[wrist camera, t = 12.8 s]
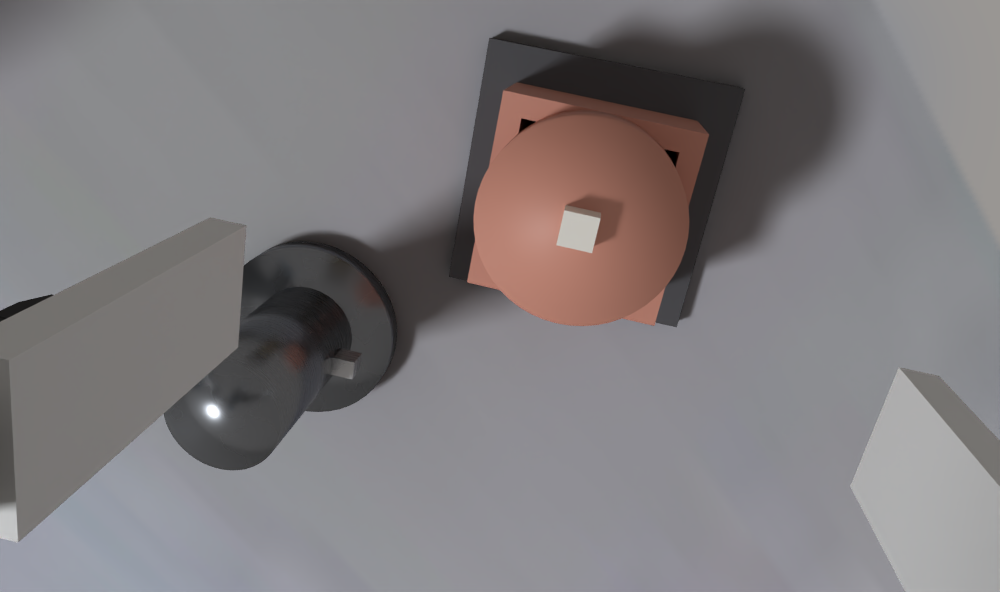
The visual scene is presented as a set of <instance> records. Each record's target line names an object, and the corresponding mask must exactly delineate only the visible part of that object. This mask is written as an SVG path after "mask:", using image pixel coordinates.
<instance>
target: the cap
mask: <svg viewBox="0 0 1000 592" xmlns="http://www.w3.org/2000/svg"><path fill="white" fill-rule="evenodd" d="M530 120H532V121H536V122H535V123H533V124H531V125H530V126H529V122H530ZM708 137H709V134H708V132H707V131H706V130H705V129H704V128H703V127H702V126H701V124H700V123H699V122H698V121H696V120H691V119H687V118H682V117H677V116H673V115H668V114H663V113H659V112H654V111H649V110H645V109H640V108H635V107H631V106H626V105H621V104H616V103H612V102H607V101H602V100H598V99H593V98H588V97H584V96H579V95H574V94H570V93H565V92H560V91H556V90H551V89H546V88H542V87H537V86H532V85H527V84H523V83H518V82H517V83H515V84H513V85H512V86H510V87H508V88H506V89H505V90H503V95H502V100H501V106H500V111H499V116H498V122H497V127H496V132H495V137H494V143H493V148H492V153H491V159H490V164H489V168H488V170H487V172H486V173H485V175H484V177H483V179H482V182H481V184H480V187H479V189H478V193H477V197H476V201H475V208H474V234H475V243H474V248H473V254H472V259H471V264H470V270H469V275H468V280H467V282H468V283H472V284H476V285H481V286H485V287H489V288H494V289H498V290H501V291H502V292H503V293H504V294H505V295H506V296H507V297H508V298H509V299H510V300H511V301H512V302H514V303H515V304H516V305H517V306H519V307H520V308H522V309H524V310H525V311H527V312H529V313H530V314H532V315H535V316H537V317H539V318H542V319H544V320H547V321H551V322H554V323H559V324H564V325H573V326H589V325H599V324H604V323H609V322H612V321H615V320H618V319H621V318H623V319H627V320H632V321H636V322H640V323H645V324H649V325H653V326H654V325H655V321H656V318H657V314H658V311H659V308H660V304H661V301H662V297H663V294H664V290H665V287H666V286H667V284H668V283H669V281H670V280H671V279H672V277H673V276H674V274H675V272H676V270H677V269H678V267H679V265H680V263H681V260H682V257H683V255H684V252H685V249H686V244H687V240H688V234H689V208H688V207H689V203H690V200H691V196H692V193H693V189H694V186H695V182H696V179H697V175H698V172H699V168H700V165H701V161H702V158H703V154H704V151H705V147H706V144H707V140H708ZM664 149H666V150H668V152H667V153H666V151H665V150H664Z"/></svg>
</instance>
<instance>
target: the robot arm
mask: <svg viewBox="0 0 1000 592" xmlns="http://www.w3.org/2000/svg"><path fill="white" fill-rule="evenodd" d="M245 237H246V225H242V224H238V223H233V222H228V221H224V220H219V219H215V218H208V219H206V220H204V221H202V222H200V223H198V224H196V225H194V226H192V227H190V228H188V229H186V230H184V231H182V232H180V233H178V234H176V235H174V236H172V237H170V238H168V239H166V240H164V241H162V242H160V243H158V244H156V245H154V246H152V247H150V248H148V249H146V250H144V251H142V252H140V253H138V254H136V255H134V256H132V257H130V258H128V259H126V260H124V261H122V262H120V263H118V264H116V265H114V266H112V267H110V268H108V269H106V270H104V271H101V272H99V273H97V274H95V275H93V276H91V277H89V278H87V279H85V280H83V281H81V282H79V283H77V284H75V285H73V286H71V287H69V288H67V289H65V290H63V291H61V292H59V293H57V294H55V295H48V296H43V297H39V298H35V299H31V300H26V301H22V302H18V303H16V304H14V305H12V306H9V307H7V308H5V309H3V310H1V311H0V538H2V539H6V540H10V541H14V542H19V541H20V540H21V539H23V538H24V537H25V536H26V535H27V534H28V533H29V532H31V531H32V530H33V529H34V528H35V527H36V526H37V525H38V524H40V523H41V522H42V521H43V520H44V519H45V518H46V517H47V516H49V515H50V514H51V513H52V512H53V511H54V510H55V509H56V508H58V507H59V506H60V505H61V504H62V503H63V502H64V501H65V500H67V499H68V498H69V497H70V496H71V495H72V494H73V493H74V492H76V491H77V490H78V489H79V488H80V487H81V486H82V485H84V484H85V483H86V482H87V481H88V480H89V479H90V478H91V477H93V476H94V475H95V474H96V473H97V472H98V471H99V470H100V469H102V468H103V467H104V466H105V465H106V464H107V463H108V462H109V461H111V460H112V459H113V458H114V457H115V456H116V455H117V454H118V453H120V452H121V451H122V450H123V449H124V448H125V447H126V446H128V445H129V444H130V443H131V442H132V441H133V440H134V439H135V438H137V437H138V436H139V435H140V434H141V433H142V432H143V431H144V430H146V429H147V428H148V427H149V426H150V425H151V424H152V423H153V422H155V421H156V420H157V419H158V418H159V417H160V416H161V415H162V414H164V413H165V412H166V411H167V410H168V409H169V408H170V407H171V406H173V405H174V404H175V403H176V402H177V401H178V400H179V399H180V398H182V397H183V396H184V395H185V394H186V393H187V392H188V391H190V390H191V389H192V388H193V387H194V386H195V385H196V384H197V383H199V382H200V381H201V380H202V379H203V378H204V377H205V376H206V375H208V374H209V373H210V372H211V371H212V370H213V369H214V368H215V367H217V366H218V365H219V364H220V363H221V362H222V361H223V360H224V359H226V358H227V357H228V356H229V355H230V354H231V353H232V352H234V351H235V350H236V349H237V348H238V341H239V326H240V311H241V296H242V282H243V267H244V252H245ZM850 487H851V489H852V491H853V493H854V495H855V497H856V499H857V500H858V502H859V504H860V506H861V508H862V510H863V512H864V514H865V516H866V518H867V520H868V521H869V523H870V525H871V527H872V529H873V531H874V533H875V535H876V537H877V539H878V541H879V542H880V544H881V546H882V548H883V550H884V552H885V554H886V556H887V558H888V560H889V562H890V563H891V565H892V567H893V569H894V571H895V573H896V575H897V577H898V579H899V581H900V583H901V584H902V586H903V588H904V590H905V592H1000V441H999V439H998V438H997V437H996V436H995V435H994V434H993V433H992V432H991V431H990V430H989V429H988V428H987V427H986V426H985V425H984V423H983V422H982V421H981V420H980V419H979V418H978V417H977V416H976V415H975V414H974V413H973V412H972V411H971V410H970V409H969V407H968V406H967V405H966V404H965V403H964V402H963V401H962V400H961V399H960V398H959V397H958V396H957V395H956V394H955V393H954V391H953V390H952V389H951V388H950V387H949V386H948V385H947V384H946V383H945V382H944V381H943V380H942V379H941V378H940V377H939V376H936V375H932V374H927V373H923V372H918V371H913V370H909V369H904V368H900V367H899V368H898V371H897V373H896V376H895V378H894V381H893V383H892V386H891V388H890V390H889V393H888V395H887V398H886V400H885V403H884V405H883V408H882V410H881V413H880V415H879V417H878V420H877V422H876V425H875V427H874V430H873V432H872V435H871V437H870V439H869V442H868V444H867V447H866V449H865V452H864V454H863V457H862V459H861V461H860V464H859V466H858V469H857V471H856V474H855V476H854V479H853V481H852V484H851V486H850Z"/></svg>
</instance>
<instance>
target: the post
mask: <svg viewBox="0 0 1000 592" xmlns="http://www.w3.org/2000/svg"><path fill="white" fill-rule="evenodd" d="M396 338H397V328H396V319H395V314H394V310H393V307H392V304H391V301H390V299H389V297H388V295H387V293H386V291H385V290H384V288H383V287H382V285H381V283H380V282H379V281H378V279H377V278H376V277H375V276H374V275H373V273H372V272H371V271H370V270H369V269H368V268H366V267H365V266H364V265H363V264H362V263H361V262H359V261H358V260H357V259H355V258H354V257H352V256H351V255H349V254H347V253H345V252H344V251H341V250H339V249H337V248H334V247H332V246H328V245H325V244H321V243H314V242H291V243H286V244H282V245H278V246H276V247H273V248H271V249H268V250H267V251H265V252H263V253H262V254H260V255H258V256H257V257H255V258H254V259H252V260H251V261H249V262H248V263H247V264H246V265H244V267H243V282H242V296H241V311H240V326H239V341H238V348H237V349H236V350H235V351H234V352H232V353H231V354H230V355H229V356H228V357H227V358H226V359H224V360H223V361H222V362H221V363H220V364H219V365H218V366H217V367H215V368H214V369H213V370H212V371H211V372H210V373H209V374H208V375H206V376H205V377H204V378H203V379H202V380H201V381H200V382H199V383H197V384H196V385H195V386H194V387H193V388H192V389H191V390H190V391H188V392H187V393H186V394H185V395H184V396H183V397H182V398H180V399H179V400H178V401H177V402H176V403H175V404H174V405H173V406H171V407H170V408H169V409H168V410H167V411H166V412H165V413H164V417H165V420H166V424H167V426H168V428H169V430H170V432H171V434H172V436H173V437H174V439H175V440H176V441H177V443H178V444H179V445H180V446H181V447H182V448H183V449H184V450H185V451H186V452H187V453H188V454H190V455H191V456H192V457H194V458H195V459H197V460H199V461H200V462H202V463H204V464H207V465H209V466H212V467H215V468H219V469H224V470H242V469H247V468H250V467H253V466H255V465H257V464H259V463H261V462H262V461H264V460H265V459H266V458H267V457H268V456H269V455H270V454H271V453H272V451H273V450H274V449H275V448H276V446H277V445H278V444H279V443H280V441H281V440H282V439H283V438H284V436H285V435H286V434H287V433H288V431H289V430H290V429H291V428H292V426H293V425H294V424H295V423H296V421H297V420H298V419H299V418H300V416H301V415H302V414H303V413H304V411H313V412H323V411H332V410H337V409H341V408H344V407H347V406H349V405H351V404H353V403H355V402H357V401H359V400H360V399H362V398H363V397H365V396H366V395H367V394H368V393H369V392H370V391H371V390H372V389H373V388H374V387H375V386H376V384H377V383H378V382H379V381H380V379H381V378H382V376H383V375H384V373H385V371H386V370H387V368H388V366H389V364H390V362H391V360H392V357H393V355H394V351H395V346H396Z"/></svg>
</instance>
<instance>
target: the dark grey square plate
mask: <svg viewBox="0 0 1000 592" xmlns="http://www.w3.org/2000/svg"><path fill="white" fill-rule="evenodd" d="M517 82H518V83H523V84H527V85H532V86H537V87H542V88H546V89H551V90H556V91H560V92H565V93H570V94H574V95H579V96H584V97H588V98H593V99H598V100H602V101H607V102H612V103H616V104H621V105H626V106H631V107H635V108H640V109H645V110H649V111H654V112H659V113H663V114H668V115H673V116H677V117H682V118H687V119H691V120H696V121H698V122H699V123H700V124H701V126H702V127H703V128H704V129H705V130H706V131H707V132H708V134H709V137H708V140H707V144H706V147H705V151H704V154H703V158H702V161H701V165H700V168H699V172H698V175H697V179H696V182H695V186H694V189H693V193H692V196H691V200H690V203H689V207H688V208H689V234H688V240H687V244H686V249H685V252H684V255H683V257H682V260H681V263H680V265H679V267H678V269H677V270H676V272H675V274H674V276H673V277H672V279H671V280H670V281H669V283H668V284H667V286H666V287H665V290H664V294H663V297H662V301H661V304H660V308H659V311H658V314H657V318H656V321H655V322H656V323H660V324H665V325H669V326H674V327H677V324H678V321H679V317H680V314H681V310H682V307H683V303H684V300H685V296H686V293H687V289H688V286H689V282H690V279H691V275H692V272H693V268H694V265H695V262H696V258H697V255H698V251H699V248H700V244H701V241H702V237H703V234H704V230H705V227H706V223H707V220H708V216H709V213H710V209H711V206H712V202H713V199H714V195H715V192H716V188H717V185H718V182H719V178H720V175H721V171H722V168H723V164H724V161H725V157H726V154H727V150H728V147H729V143H730V140H731V136H732V133H733V129H734V126H735V122H736V119H737V115H738V112H739V108H740V105H741V102H742V98H743V95H744V91H745V89H744V88H740V87H735V86H730V85H725V84H720V83H715V82H710V81H705V80H700V79H695V78H690V77H685V76H680V75H675V74H670V73H665V72H660V71H655V70H650V69H645V68H640V67H635V66H630V65H625V64H620V63H615V62H610V61H604V60H599V59H594V58H589V57H584V56H579V55H574V54H569V53H564V52H559V51H554V50H549V49H544V48H539V47H534V46H529V45H524V44H519V43H514V42H509V41H504V40H499V39H494V38H489V43H488V49H487V55H486V61H485V67H484V73H483V79H482V85H481V91H480V97H479V103H478V108H477V114H476V120H475V126H474V132H473V138H472V144H471V150H470V156H469V162H468V168H467V173H466V179H465V185H464V191H463V197H462V203H461V209H460V215H459V221H458V227H457V232H456V238H455V244H454V250H453V256H452V262H451V268H450V274H449V277H453V278H458V279H462V280H468V275H469V270H470V264H471V259H472V254H473V248H474V243H475V234H474V208H475V201H476V197H477V193H478V189H479V187H480V184H481V182H482V179H483V177H484V175H485V173H486V172H487V170H488V168H489V164H490V159H491V153H492V148H493V143H494V137H495V132H496V127H497V122H498V116H499V111H500V106H501V100H502V95H503V90H505V89H506V88H508V87H510V86H512V85H513V84H515V83H517ZM535 122H536V121H532V120H530V122H529V126H530V125H531V124H533V123H535ZM664 150H665V151H666V153H667V152H668V150H666V149H664Z"/></svg>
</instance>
